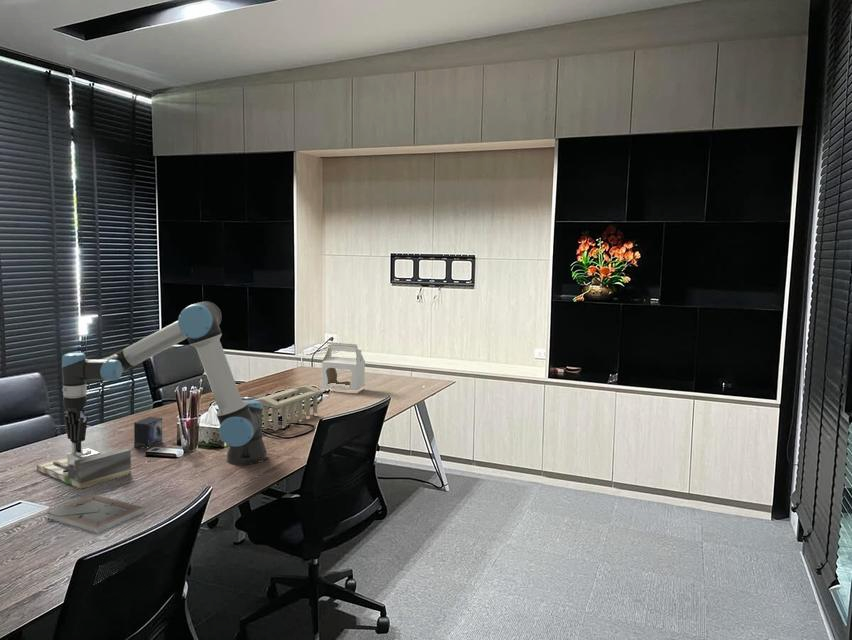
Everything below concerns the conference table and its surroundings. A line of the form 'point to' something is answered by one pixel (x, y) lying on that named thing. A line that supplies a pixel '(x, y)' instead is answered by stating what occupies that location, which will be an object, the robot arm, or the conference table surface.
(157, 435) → the small box
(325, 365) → the gable box
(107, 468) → the base
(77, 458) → the grey dimpled block
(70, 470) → the max marker
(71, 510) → the picture frame
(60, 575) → the conference table surface
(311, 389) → the architectural model
